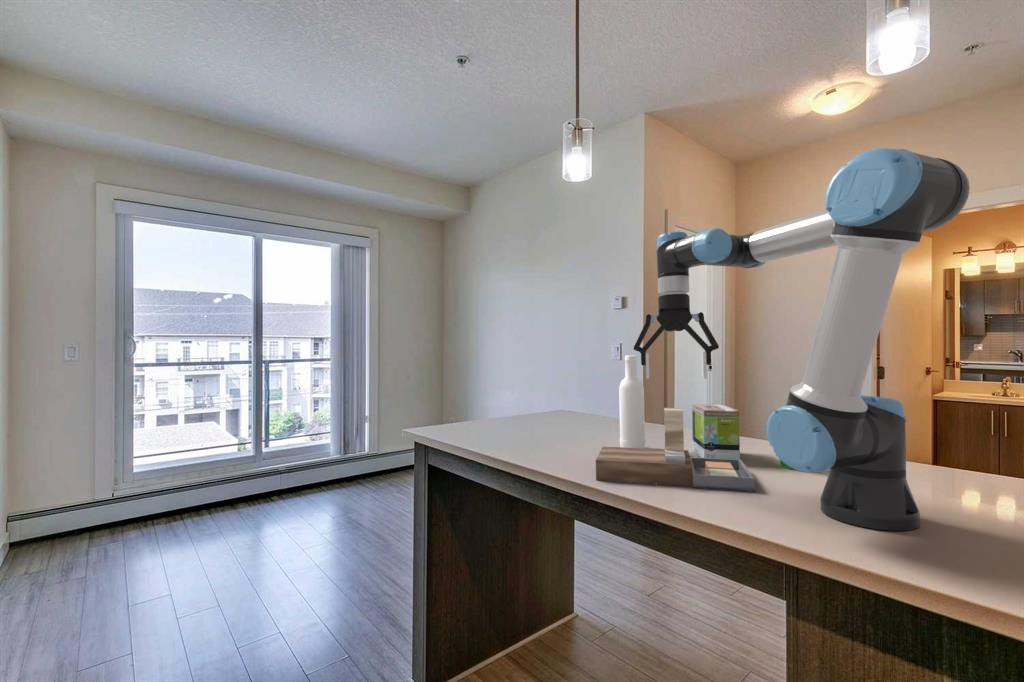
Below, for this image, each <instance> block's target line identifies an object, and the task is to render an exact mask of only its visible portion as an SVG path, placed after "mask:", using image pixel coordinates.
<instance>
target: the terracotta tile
mask: <svg viewBox="0 0 1024 682" xmlns="http://www.w3.org/2000/svg"><path fill="white" fill-rule="evenodd" d="M705 469H706V472H707V475H708V469H724V470H734V468H733V466H732V465H731V463H728V462H708V461H705Z"/></svg>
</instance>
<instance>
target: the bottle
mask: <svg viewBox="0 0 1024 682" xmlns="http://www.w3.org/2000/svg"><path fill="white" fill-rule="evenodd" d="M637 357H638V356H637V355H633V354H631V355H629V354H628V355H624V366H625V367H624V368H625V371H624V372H625V374H624V375H625V376H624V378H623V379H622V380H621V381H620V383H619V387H618V400H619V401H618V402H619V405H618V407H619V411H618V412H619V447H625V448H646V429H645V428H646V426H645V423H646V421H645V420H646V419H645V418H646V417H645V387H644V385H643V381H642V380H641V379H639V378H638V367H637V365H638V363H637V362H638V359H637Z"/></svg>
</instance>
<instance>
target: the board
mask: <svg viewBox="0 0 1024 682" xmlns="http://www.w3.org/2000/svg"><path fill="white" fill-rule="evenodd" d="M684 454H685V465H678V464H666V461H665V448H663V449H662V448H646V447H645V448H625V447H620V446H602V448H601V449H600V451H599V453H598V454H597V457H596V459H595V478H596V479H595V481H602V482H603V481H605V482H606V481H607V482H618V483H632V482H637V483H636V484H647V483H657V484H656V485H662V484H668V485H667V486H677V485H682V486H681V487H692V486H693V474H692V462H691V459H690V457H691V456H690V453H689V450H687V449H684ZM684 485H685V486H684Z"/></svg>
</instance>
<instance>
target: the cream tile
mask: <svg viewBox="0 0 1024 682" xmlns="http://www.w3.org/2000/svg"><path fill="white" fill-rule="evenodd" d="M708 475H718V476H735V477H739V476H738V475H737V473H736V471H735V470H724V469H708Z"/></svg>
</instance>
